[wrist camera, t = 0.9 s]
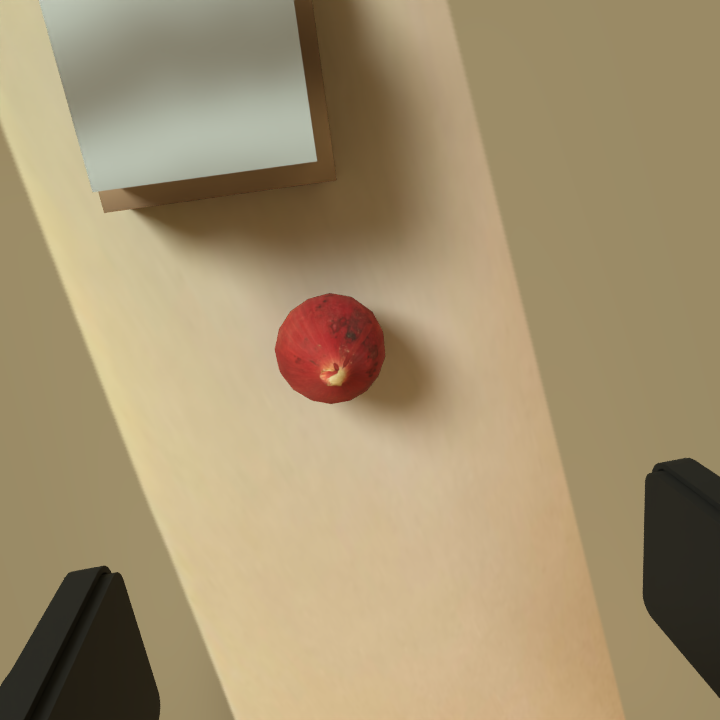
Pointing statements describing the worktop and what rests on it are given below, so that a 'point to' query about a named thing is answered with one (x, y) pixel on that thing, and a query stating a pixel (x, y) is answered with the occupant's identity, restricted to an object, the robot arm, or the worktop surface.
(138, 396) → the worktop surface
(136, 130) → the wood and metal block
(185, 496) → the worktop surface
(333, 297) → the onion
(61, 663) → the robot arm
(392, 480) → the worktop surface
